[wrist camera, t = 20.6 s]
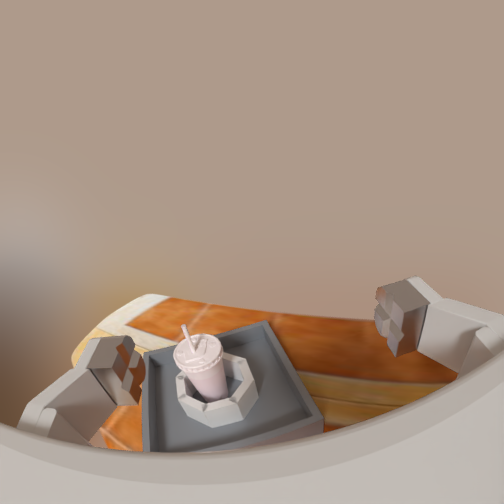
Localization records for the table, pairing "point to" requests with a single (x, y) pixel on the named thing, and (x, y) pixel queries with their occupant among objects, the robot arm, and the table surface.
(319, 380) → the table surface
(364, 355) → the table surface
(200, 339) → the smoothie
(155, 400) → the tray
